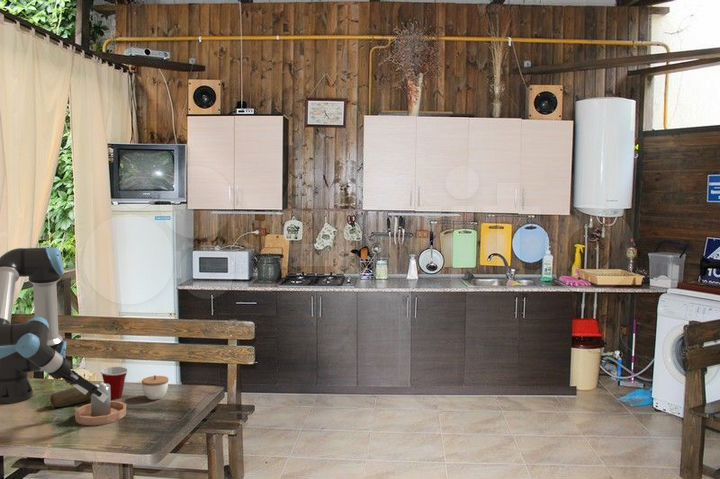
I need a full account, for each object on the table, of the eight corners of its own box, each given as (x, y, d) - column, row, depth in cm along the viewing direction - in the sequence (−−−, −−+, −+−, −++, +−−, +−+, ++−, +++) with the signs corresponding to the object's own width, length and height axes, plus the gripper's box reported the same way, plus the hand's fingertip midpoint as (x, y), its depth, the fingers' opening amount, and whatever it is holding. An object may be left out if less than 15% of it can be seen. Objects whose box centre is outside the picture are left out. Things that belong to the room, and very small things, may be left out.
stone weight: (86, 398, 251) (86, 382, 251) (93, 402, 246) (92, 386, 246) (48, 406, 240) (48, 390, 240) (54, 411, 235) (54, 394, 235)
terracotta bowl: (66, 417, 228) (66, 410, 228) (111, 405, 242) (111, 397, 242) (90, 429, 217) (89, 421, 217) (135, 415, 231) (135, 407, 231)
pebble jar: (87, 414, 229) (87, 383, 228) (105, 409, 234) (104, 379, 234) (96, 418, 225) (96, 387, 224) (114, 413, 230) (113, 383, 229)
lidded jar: (174, 396, 254) (173, 374, 253) (153, 403, 245) (152, 381, 244) (157, 391, 260) (157, 370, 259) (136, 398, 251) (136, 376, 250)
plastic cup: (118, 402, 246) (118, 374, 245) (95, 400, 248) (94, 372, 247) (133, 394, 256) (133, 366, 255) (111, 392, 258) (110, 365, 257)
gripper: (32, 367, 220) (73, 396, 233) (64, 381, 205) (106, 411, 217) (46, 350, 224) (86, 380, 237) (79, 362, 208) (120, 393, 221)
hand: (96, 395), depth 227 cm, fingers open, 13 cm apart
